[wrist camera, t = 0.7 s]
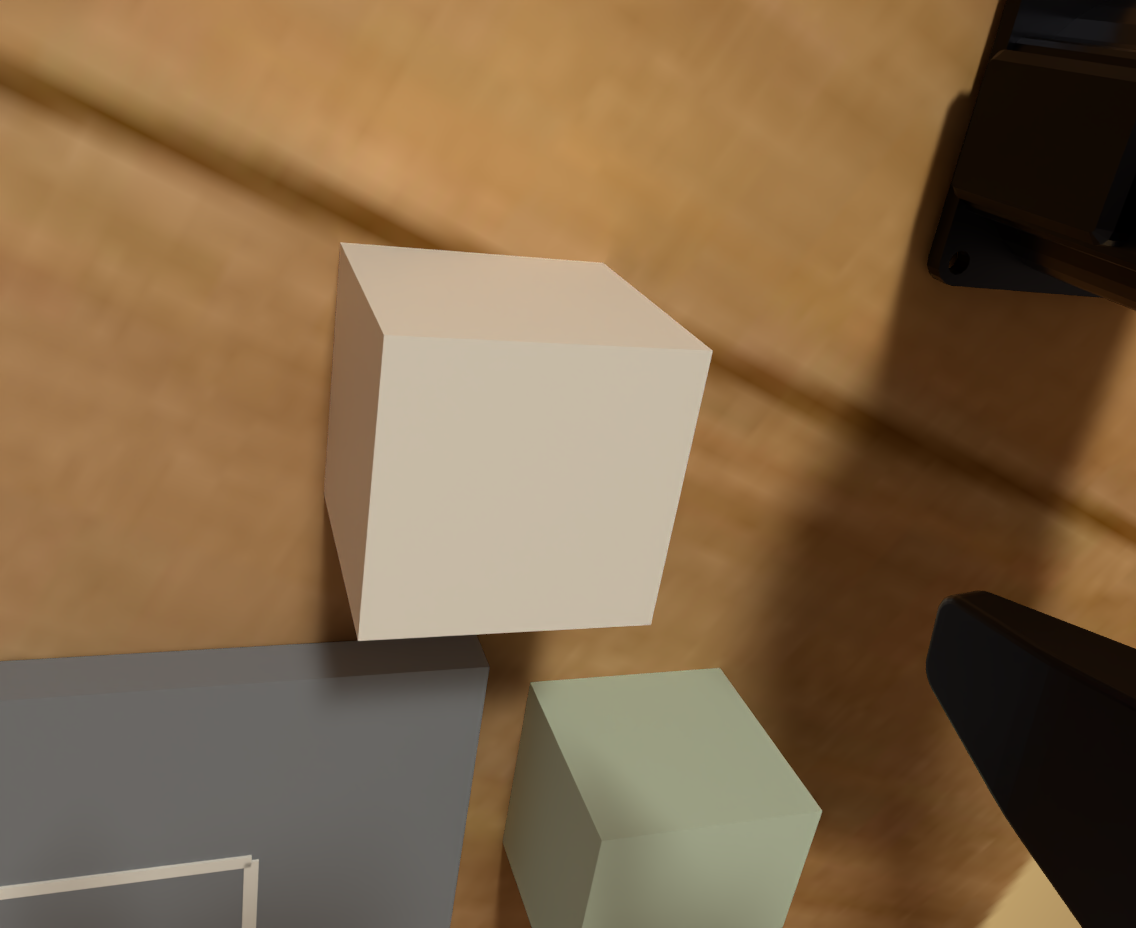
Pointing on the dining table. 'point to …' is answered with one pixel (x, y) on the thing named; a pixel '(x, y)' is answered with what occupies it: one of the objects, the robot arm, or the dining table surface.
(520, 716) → the dining table surface
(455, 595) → the cream block
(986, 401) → the dining table surface
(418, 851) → the slate board
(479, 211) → the dining table surface
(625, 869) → the sage block
